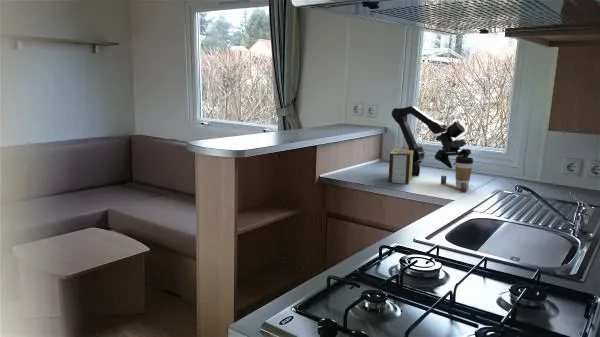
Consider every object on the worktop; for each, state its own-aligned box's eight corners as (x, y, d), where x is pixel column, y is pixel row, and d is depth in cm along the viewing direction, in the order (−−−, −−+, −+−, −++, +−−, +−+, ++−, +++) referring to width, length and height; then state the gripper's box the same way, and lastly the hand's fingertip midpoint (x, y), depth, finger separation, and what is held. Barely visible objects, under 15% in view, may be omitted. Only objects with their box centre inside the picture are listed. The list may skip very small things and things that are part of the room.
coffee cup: (451, 184, 235) (453, 155, 232) (467, 184, 235) (470, 155, 232) (456, 188, 227) (458, 158, 224) (473, 188, 227) (476, 158, 224)
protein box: (411, 178, 248) (413, 150, 245) (408, 184, 234) (410, 154, 231) (392, 176, 251) (393, 148, 249) (387, 182, 237) (389, 152, 234)
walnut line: (467, 192, 220) (467, 183, 219) (462, 192, 219) (463, 184, 218) (444, 183, 238) (444, 175, 238) (439, 183, 238) (440, 175, 237)
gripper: (439, 133, 232) (451, 159, 224) (470, 133, 238) (483, 158, 229) (429, 147, 241) (440, 172, 232) (459, 146, 246) (471, 170, 238)
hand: (459, 167), depth 233 cm, fingers open, 9 cm apart
